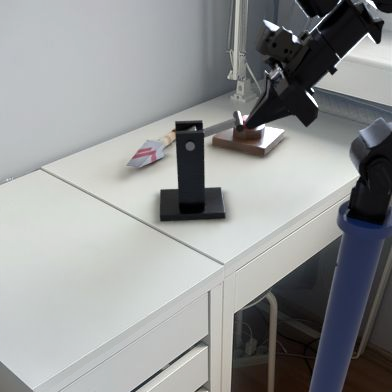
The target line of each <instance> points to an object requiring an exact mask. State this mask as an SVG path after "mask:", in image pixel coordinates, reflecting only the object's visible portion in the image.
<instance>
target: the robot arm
mask: <svg viewBox="0 0 392 392" xmlns="http://www.w3.org/2000/svg"><path fill="white" fill-rule="evenodd" d="M294 1H295V3H296V4H297V5H298V7H299V8H300V9H301V10H302V11H303V13H304V14H305V16H306V17H307V18H308V19H313V18H315V17H317V18H319V19H321V20H320V21H319V22H318V24H317V25H315V27H314V28H313V29H311V31H310V32H309V31H308V29H306V30H302V31H300V33H299V34H298V35H297V36H296V35H294V34H293V31H292V30H290V29H289V30H288V29H286V28H285V27H284V26H283V25H281V26H278V25H276V24H274V23H272V22H271V21H268V20H266V19H263V20H262V21H261V24H260V26H259V28H258V31H257V32H256V35H255V37H254V40H253V42H252V44H253V46H254V49H255V51H256V52H257V53H260V54H261V59H262V61H263V63H264V64H265V65H268V66H269V67H270V68H271V71H270V72H269V73H268V72H267V71H266V70H264V71H263V89H262V90H261V91H262V92H261V93H260V95H259V96H258V98H257V100H256V102H255V104H254V106H253V107H252V109H251V110H250V113H249V114H248V115H249V116H248V118H247V119H246V121H245V126H246V127H247V128H248V129H249V130H250V129H253V128H255V127H258V126H261V125H264V124H265V125H266V124H269V123H273V122H274V121H278V120H281V119H283V118H284V119H285V118H287V117H290V116H293V117H296V118H297V119H298V120H299V121H300V122H301V123H302V125H303V126H304V127H305V128H308V127H309V126H310V125H311V124H312V123H313V122H315V121H316V120H317V119H318V115H319V108H320V107H319V106H318V104H317V102H316V101H315V99H314V98H313V95H314V94H315V91H314V89H313V88H314V87H315V86H316V85H317V84H318V83H319V82H320V81H321V80H323V78H324V77H325V76H327V75H328V74H330V75H331V76H334V74H336V73H337V72H338V70H339V69H338V68H337V65H338V64H339V63H340V62H341V60H343V59H344V58H345V57H346V56H347V55H348V54H349V53H350V52H351V51H352V50H354V48H355V47H356V46H357V45H358V44H359V43H360V42H361V41H362V40H363V39H364V38H366V36H368V37H369V39H370V40H372V42H373V43H375V44H376V45H380V44H381V43H382V34H383V28H384V26H385V20H384V19H383V18H382V17H380V16H377V17H374V16H373V15H372V14H371V13H372V12H370V10H369V9H368V7H367V5H366V4H365V3H364V2H363V1H359V2H355V3H353V1H352V0H294ZM365 1H366V2H367V3H369V4H370V5H371V6H372V7H374V8H375V9H376V10H378V11H380V12H381V13H384V14H392V0H365ZM357 133H358V135H357V136H356V137H355V138H354V139H352V142H351V143H350V148H349V152H348V154H349V155H348V156H349V159H350V161H351V163H352V164H353V166H354V168H355V170H356V171H357V173H358V174H359V177H358V178H357V179H356V182H355V183H354V184H353V186H352V187H351V190H350V196H349V199H348V200H349V204H348V209H350V210H349V212H348V213H347V217H349V218H353V219H357V220H361V221H365V222H369V223H373V224H377V225H383V224H384V222H385V221H386V219H387V217H388V215H389V214H390V212H391V210H392V207H391V205H392V121H390V122H386V120H385V118H383V117H382V116H380V117H379V118H377V119H375V120H374V121H373V122H372V123H371V124H370V125H369V126H367V127H365V128H364V129H361V130H358V132H357Z"/></svg>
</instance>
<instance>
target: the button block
mask: <svg viewBox="0 0 392 392" xmlns="http://www.w3.org/2000/svg"><path fill="white" fill-rule="evenodd" d="M211 137H212V138H211V141H212V142H211V146H215V147H219V148H225V149H229V150H233V151H238V152H243V153H247V154H251V155H256V156H261V157H265V156H266V155H268V153H270V152H271V151H272V150H273V149H274V148H275V147H276V146H277V145H278V144H280V142H282V140H284V137H285V130H284V129H281V128H275V127H271V126H266V124H264V125H261V126H258V127H257V128H254V129H250V130H249V129H245V128H244V130H243V131H242V132H238V131H237V130H236V127H234V128H231V129H228V130H225V131H222V132H219V133H217V134H214V135H212V136H211Z"/></svg>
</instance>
